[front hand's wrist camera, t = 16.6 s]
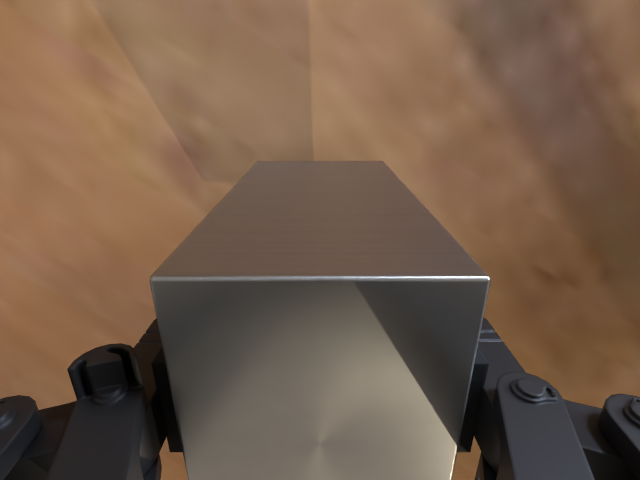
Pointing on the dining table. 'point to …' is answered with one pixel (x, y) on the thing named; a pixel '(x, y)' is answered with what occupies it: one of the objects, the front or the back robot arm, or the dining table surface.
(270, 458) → the grey metallic rectangular block
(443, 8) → the dining table surface
